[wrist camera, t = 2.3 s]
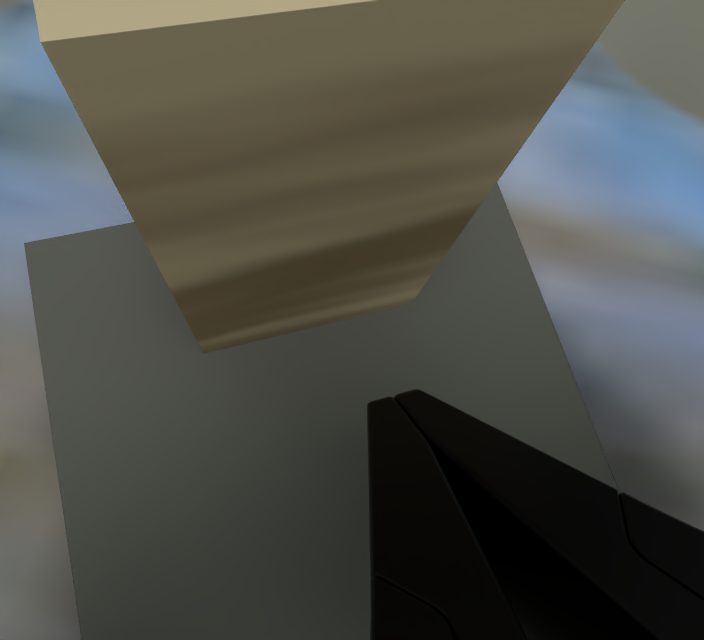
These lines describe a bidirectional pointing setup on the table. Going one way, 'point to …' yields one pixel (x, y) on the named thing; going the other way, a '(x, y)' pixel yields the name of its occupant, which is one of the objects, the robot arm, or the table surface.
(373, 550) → the robot arm
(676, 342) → the table surface
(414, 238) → the maple block
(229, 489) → the rubber mat
